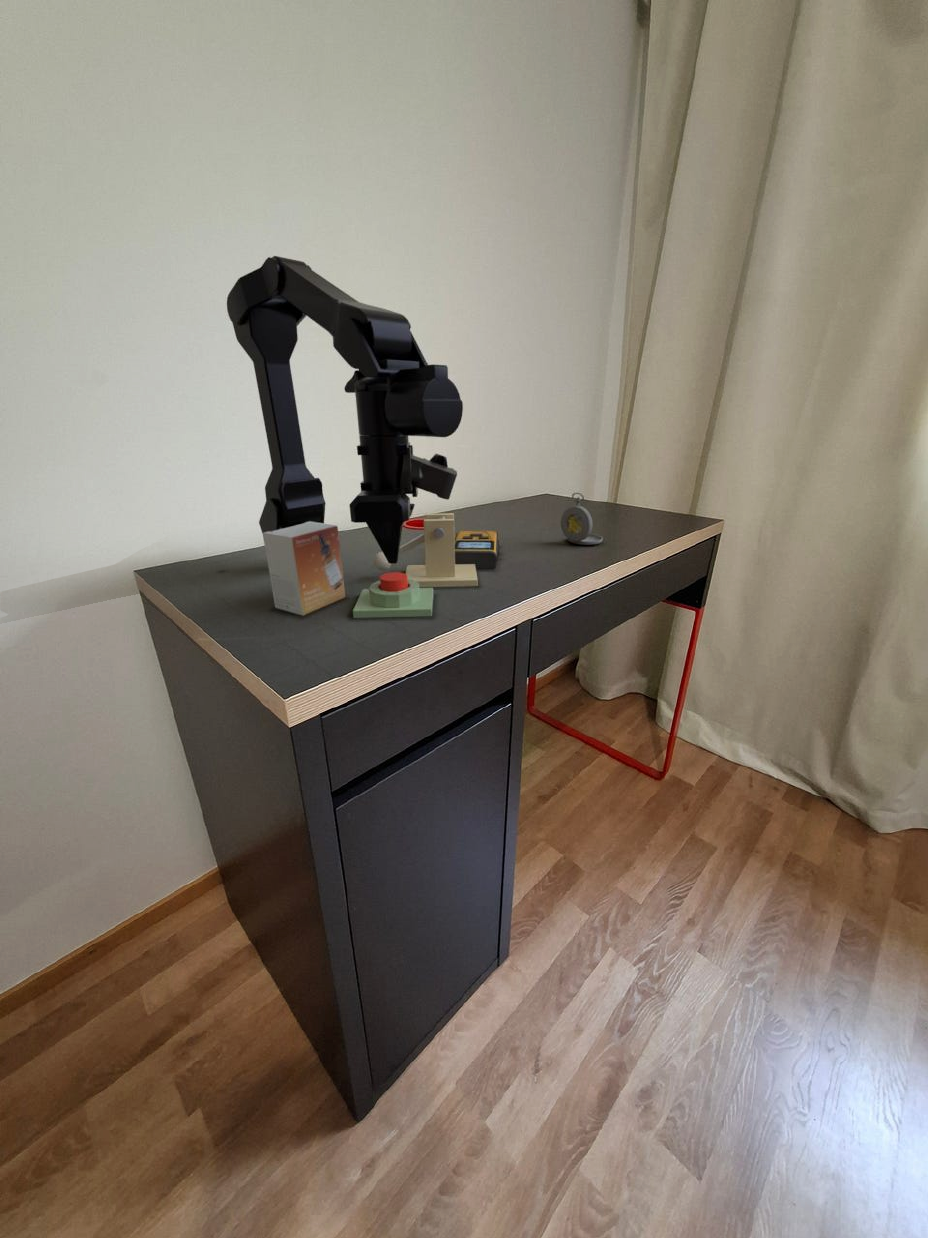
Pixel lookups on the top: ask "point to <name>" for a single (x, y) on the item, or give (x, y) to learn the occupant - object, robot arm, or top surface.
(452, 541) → the bracket
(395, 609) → the button block
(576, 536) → the pocket watch
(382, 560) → the lever
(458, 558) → the electronic device
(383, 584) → the button
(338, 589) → the small box
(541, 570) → the top surface
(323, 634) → the top surface
